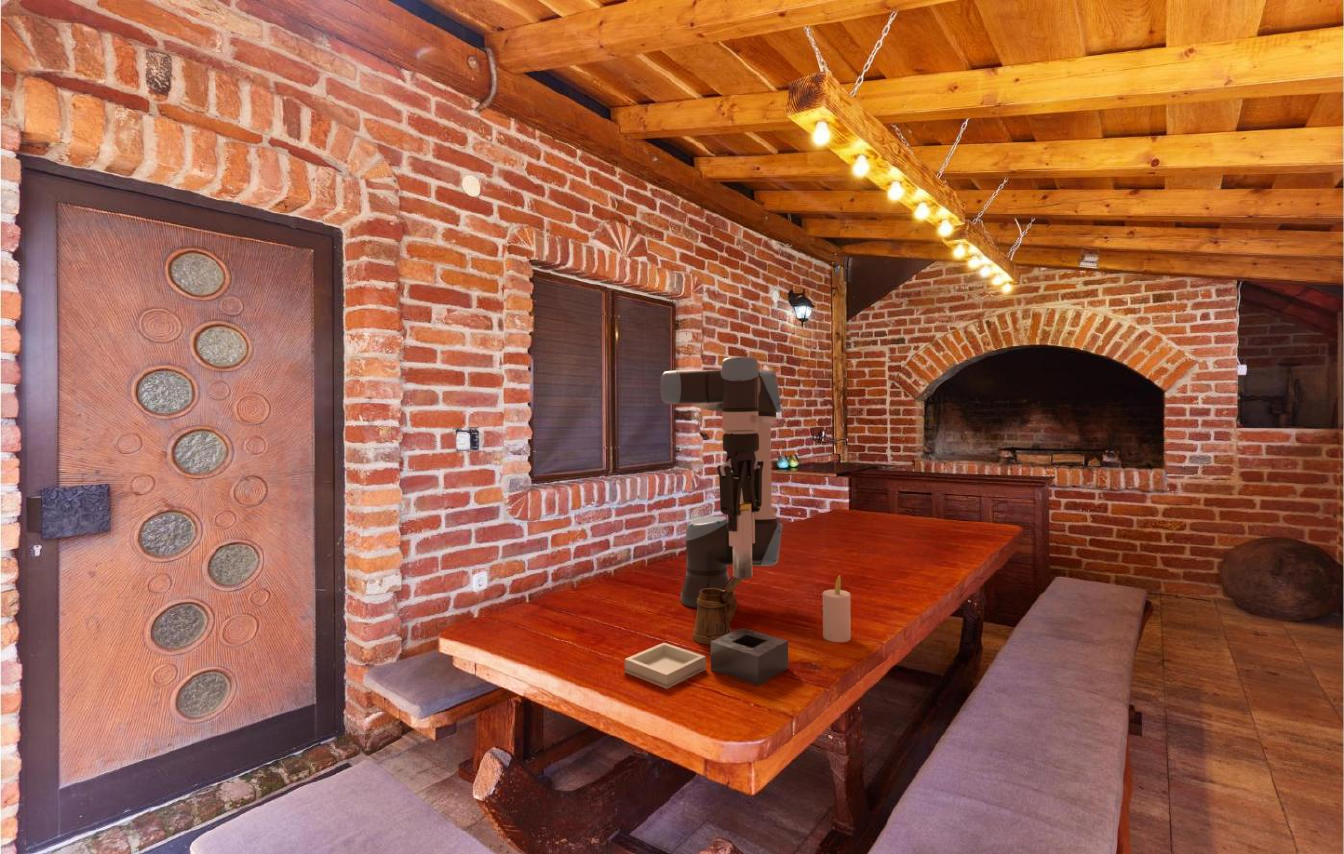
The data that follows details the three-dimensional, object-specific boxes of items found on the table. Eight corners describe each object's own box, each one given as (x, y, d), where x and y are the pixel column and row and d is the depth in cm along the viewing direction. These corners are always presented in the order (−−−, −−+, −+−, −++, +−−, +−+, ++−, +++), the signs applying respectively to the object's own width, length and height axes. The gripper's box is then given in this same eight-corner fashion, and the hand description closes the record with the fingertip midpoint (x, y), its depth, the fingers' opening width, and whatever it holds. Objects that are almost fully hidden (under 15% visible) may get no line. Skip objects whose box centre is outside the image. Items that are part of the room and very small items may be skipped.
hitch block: (710, 669, 136) (710, 641, 135) (742, 654, 144) (741, 627, 143) (758, 686, 127) (757, 656, 127) (788, 668, 135) (788, 640, 135)
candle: (826, 630, 157) (825, 569, 156) (853, 634, 154) (852, 572, 153) (819, 639, 151) (818, 576, 151) (847, 643, 148) (846, 579, 148)
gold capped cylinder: (729, 576, 135) (728, 503, 134) (740, 572, 138) (739, 501, 137) (745, 579, 132) (744, 505, 131) (756, 575, 135) (755, 503, 134)
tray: (625, 672, 135) (624, 659, 135) (664, 654, 144) (663, 642, 144) (666, 688, 127) (666, 674, 127) (705, 669, 136) (705, 656, 136)
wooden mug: (733, 652, 145) (732, 573, 144) (685, 639, 153) (684, 564, 152) (754, 640, 151) (753, 564, 151) (707, 628, 160) (706, 556, 159)
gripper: (730, 435, 124) (732, 554, 126) (778, 430, 137) (779, 539, 138) (700, 434, 129) (702, 549, 131) (749, 429, 142) (750, 535, 143)
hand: (742, 544), depth 134 cm, fingers closed on gold capped cylinder, 4 cm apart
